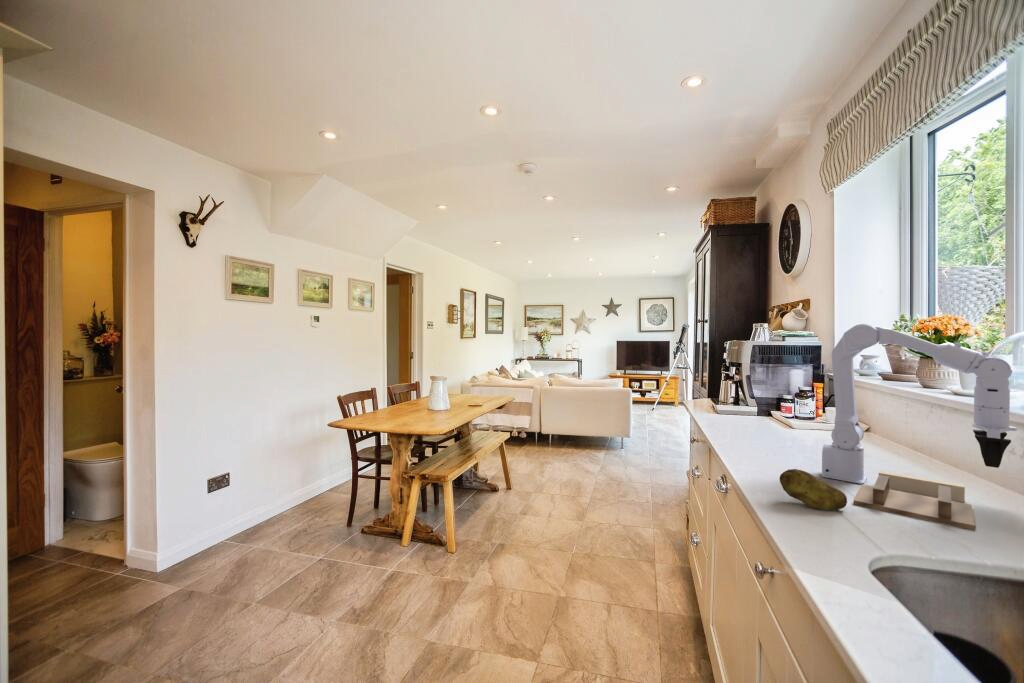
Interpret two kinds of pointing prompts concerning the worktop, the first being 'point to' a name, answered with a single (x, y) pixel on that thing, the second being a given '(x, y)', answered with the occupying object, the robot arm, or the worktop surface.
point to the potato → (812, 490)
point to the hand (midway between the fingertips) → (990, 463)
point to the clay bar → (923, 485)
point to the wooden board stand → (916, 504)
